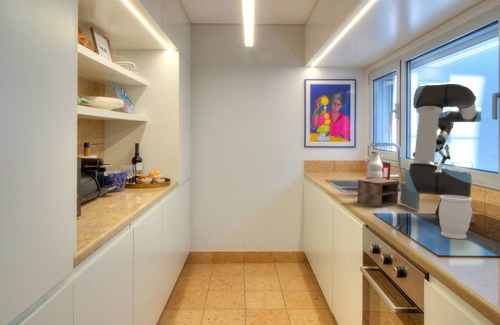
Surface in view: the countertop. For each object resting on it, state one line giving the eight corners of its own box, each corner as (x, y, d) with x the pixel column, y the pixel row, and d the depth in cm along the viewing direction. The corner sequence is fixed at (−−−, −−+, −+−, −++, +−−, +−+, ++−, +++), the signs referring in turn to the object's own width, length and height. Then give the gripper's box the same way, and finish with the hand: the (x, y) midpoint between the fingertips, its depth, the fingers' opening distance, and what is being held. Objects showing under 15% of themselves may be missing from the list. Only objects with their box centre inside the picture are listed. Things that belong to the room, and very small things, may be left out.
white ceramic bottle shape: (365, 196, 208) (367, 151, 206) (366, 194, 216) (368, 151, 214) (381, 198, 204) (383, 152, 202) (382, 195, 213) (384, 151, 210)
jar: (458, 232, 132) (460, 194, 130) (476, 240, 121) (479, 199, 120) (431, 232, 131) (433, 194, 130) (448, 240, 121) (450, 199, 120)
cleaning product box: (367, 189, 238) (368, 161, 237) (379, 189, 238) (381, 161, 237) (375, 193, 222) (376, 163, 220) (388, 193, 222) (390, 163, 220)
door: (404, 202, 186) (405, 182, 185) (421, 209, 169) (423, 187, 168) (399, 202, 186) (400, 182, 185) (416, 209, 168) (417, 186, 168)
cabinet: (397, 204, 186) (398, 180, 185) (380, 207, 176) (381, 183, 175) (374, 200, 197) (375, 178, 196) (357, 203, 187) (358, 180, 186)
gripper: (464, 144, 190) (451, 172, 182) (419, 143, 209) (406, 168, 201) (460, 135, 186) (448, 163, 178) (415, 134, 205) (402, 160, 197)
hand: (425, 166), depth 190 cm, fingers open, 13 cm apart
